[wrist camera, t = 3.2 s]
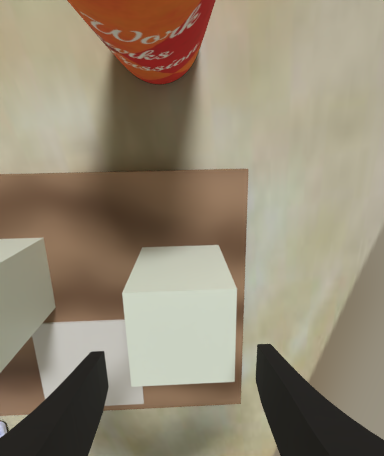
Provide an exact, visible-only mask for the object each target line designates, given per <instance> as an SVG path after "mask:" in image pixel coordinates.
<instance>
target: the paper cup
mask: <svg viewBox="0 0 384 456" xmlns="http://www.w3.org/2000/svg"><path fill="white" fill-rule="evenodd" d="M67 1H68V2H69V3H70V4H71V5H72V6H73V8H74V9H75V10H76V11H77V12H78V13H79V15H80V16H81V17H82V18H83V19H84V20H85V22H86V23H87V24H88V25H89V26H90V27H91V29H92V30H93V31H94V32H95V33H96V34H97V36H98V37H99V38H100V39H101V40H102V41H103V43H104V44H105V45H106V46H107V47H108V48H109V49H110V51H111V52H112V53H113V54H114V55H115V56H116V57H117V59H118V60H119V61H120V62H121V63H122V64H123V65H124V66H125V67H126V68H127V69H128V70H129V71H130V72H131V73H132V74H133V75H135V76H136V77H138V78H139V79H141V80H143V81H145V82H148V83H152V84H167V83H170V82H173V81H175V80H177V79H179V78H180V77H182V76H183V75H184V74H185V73H186V72H187V71H188V70H189V69H190V67H191V66H192V64H193V63H194V61H195V59H196V57H197V54H198V52H199V49H200V46H201V43H202V40H203V37H204V34H205V31H206V28H207V25H208V22H209V19H210V16H211V13H212V9H213V6H214V3H215V0H67Z"/></svg>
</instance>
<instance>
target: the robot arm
mask: <svg viewBox="0 0 384 456" xmlns="http://www.w3.org/2000/svg"><path fill="white" fill-rule="evenodd" d="M256 383H257V387H258V392H259V395H260V399H261V403H262V406H263V409H264V412H265V414H266V417H267V420H268V423H269V425H270V428H271V431H272V434H273V436H274V439H275V442H276V444H277V447H278V450H279V453H280V455H281V456H384V440H383V439H381V438H380V437H378V436H377V435H375V434H373V433H372V432H370V431H369V430H367V429H366V428H364V427H363V426H362V425H360V424H359V423H357V422H356V421H354V420H353V419H351V418H350V417H349V416H347V415H346V414H345V413H343V412H342V411H341V410H340V409H338V408H337V407H336V406H334V405H333V404H332V403H331V402H329V401H328V400H327V399H326V398H325V397H323V396H322V395H321V394H320V393H319V392H318V391H317V390H315V389H314V388H313V387H312V386H311V385H310V384H309V383H308V382H307V381H306V380H305V379H304V378H303V377H302V376H301V375H300V374H299V373H298V372H297V371H296V370H295V369H294V368H293V367H292V366H291V365H290V364H289V363H288V362H287V361H286V360H285V359H284V358H283V357H282V356H281V355H280V354H279V353H278V351H277V350H276V349H275V348H274V347H273V346H272V345H271V344H258V345H257V364H256ZM108 388H109V385H108V377H107V369H106V361H105V353H104V351H92V352H90V353H89V354H88V355H87V356H86V357H85V358H84V360H83V361H82V362H81V363H80V364H79V365H78V366H77V367H76V368H75V369H74V370H73V372H72V373H71V374H70V375H69V376H68V377H67V378H66V379H65V380H64V381H63V382H62V383H61V384H60V385H59V386H58V387H57V388H56V389H55V390H54V391H53V392H52V393H51V394H50V395H49V396H48V397H47V398H46V399H45V400H44V401H43V402H42V403H41V404H40V405H39V406H38V407H37V408H36V409H35V410H33V411H32V412H31V413H30V414H29V415H28V416H27V417H25V418H24V419H23V420H22V421H21V422H20V423H18V424H17V425H16V426H15V427H14V428H12V429H11V430H10V431H9V432H7V430H6V426H5V423H4V422H2V421H0V456H88V454H89V451H90V448H91V445H92V442H93V439H94V437H95V434H96V431H97V428H98V425H99V422H100V419H101V416H102V413H103V410H104V406H105V401H106V397H107V392H108Z"/></svg>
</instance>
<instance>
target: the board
mask: <svg viewBox="0 0 384 456" xmlns="http://www.w3.org/2000/svg"><path fill="white" fill-rule="evenodd" d="M247 194H248V169H214V170H171V171H127V172H84V173H41V174H0V239H17V238H44V243H45V249H46V255H47V260H48V266H49V272H50V278H51V284H52V289H53V295H54V301H55V307H56V308H55V309H54V310H53V311H52V312H51V313H50V315H49V316H48V317H47V318H46V319H45V321H44V322H43V323H50V322H75V321H100V320H125V317H124V307H123V297H122V292H123V290H124V288H125V285H126V283H127V281H128V279H129V276H130V274H131V272H132V270H133V267H134V265H135V263H136V261H137V258H138V256H139V254H140V251H141V249H142V247H170V246H201V245H219V247H220V250H221V252H222V254H223V257H224V259H225V262H226V264H227V266H228V269H229V271H230V273H231V276H232V278H233V281H234V283H235V285H236V288H237V307H236V347H235V382H221V383H200V384H179V385H158V386H143V395H144V404H132V405H112V406H104V410H103V411H105V410H125V409H145V408H165V407H185V406H205V405H224V404H241V375H242V344H243V314H244V284H245V254H246V224H247ZM44 400H45V396H44V392H43V387H42V382H41V377H40V372H39V367H38V362H37V357H36V353H35V348H34V343H33V338H32V336H31V337H30V338H29V340H28V341H27V342H26V343H25V344H24V345H23V347H22V348H21V349H20V350H19V351H18V353H17V354H16V355H15V356H14V357H13V359H12V360H11V361H10V362H9V363H8V364H7V366H6V367H5V368H4V369H3V370H2V372H1V373H0V416H6V415H26V414H30V413H31V412H32V411H33V410H35V409H36V408H37V407H38V406H39V405H40V404H41V403H42V402H43V401H44Z"/></svg>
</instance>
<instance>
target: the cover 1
mask: <svg viewBox="0 0 384 456" xmlns="http://www.w3.org/2000/svg"><path fill="white" fill-rule="evenodd" d="M55 308H56V307H55V301H54V295H53V289H52V284H51V278H50V272H49V266H48V260H47V255H46V249H45V243H44V238H17V239H0V373H1V372H2V370H3V369H4V368H5V367H6V366H7V364H8V363H9V362H10V361H11V360H12V359H13V357H14V356H15V355H16V354H17V353H18V351H19V350H20V349H21V348H22V347H23V345H24V344H25V343H26V342H27V341H28V340H29V338H30V337H31V336H32V335H33V334H34V332H35V331H36V330H37V329H38V328H39V326H40V325H41V324H42V323H43V322H44V321H45V319H46V318H47V317H48V316H49V315H50V313H51V312H52V311H53V310H54V309H55Z"/></svg>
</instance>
